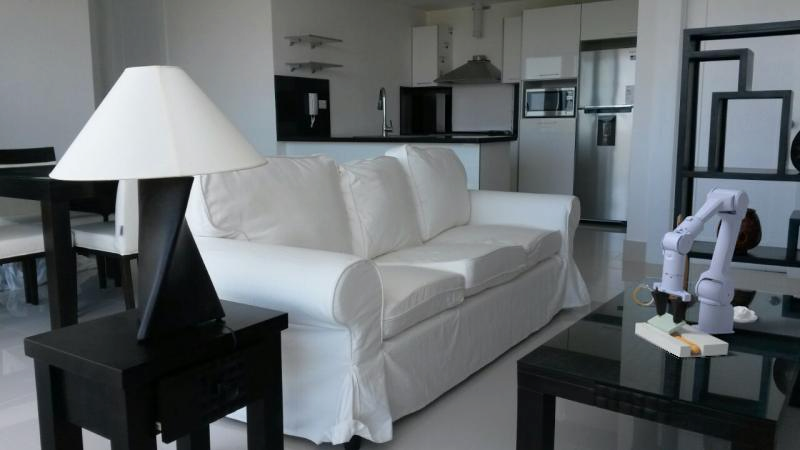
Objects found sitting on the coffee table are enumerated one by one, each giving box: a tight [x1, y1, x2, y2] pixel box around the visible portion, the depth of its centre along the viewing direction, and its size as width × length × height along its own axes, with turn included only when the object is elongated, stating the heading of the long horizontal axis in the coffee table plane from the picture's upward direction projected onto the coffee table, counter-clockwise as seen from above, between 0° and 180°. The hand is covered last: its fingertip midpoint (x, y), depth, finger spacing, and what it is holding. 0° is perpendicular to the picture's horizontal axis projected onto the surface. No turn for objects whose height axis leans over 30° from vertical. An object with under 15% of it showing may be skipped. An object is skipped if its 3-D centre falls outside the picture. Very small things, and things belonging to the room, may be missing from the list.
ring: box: [632, 282, 655, 307], centre depth 224 cm, size 7×3×8 cm, turn 57°
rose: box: [733, 305, 758, 324], centre depth 211 cm, size 10×4×10 cm
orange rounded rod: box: [670, 334, 700, 354], centre depth 181 cm, size 2×12×2 cm, turn 13°
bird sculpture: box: [668, 213, 695, 303], centre depth 228 cm, size 11×12×32 cm
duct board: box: [634, 322, 729, 358], centre depth 185 cm, size 15×21×4 cm
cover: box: [646, 312, 687, 334], centre depth 188 cm, size 6×10×1 cm, turn 12°
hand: (668, 318), depth 188 cm, fingers open, 7 cm apart
